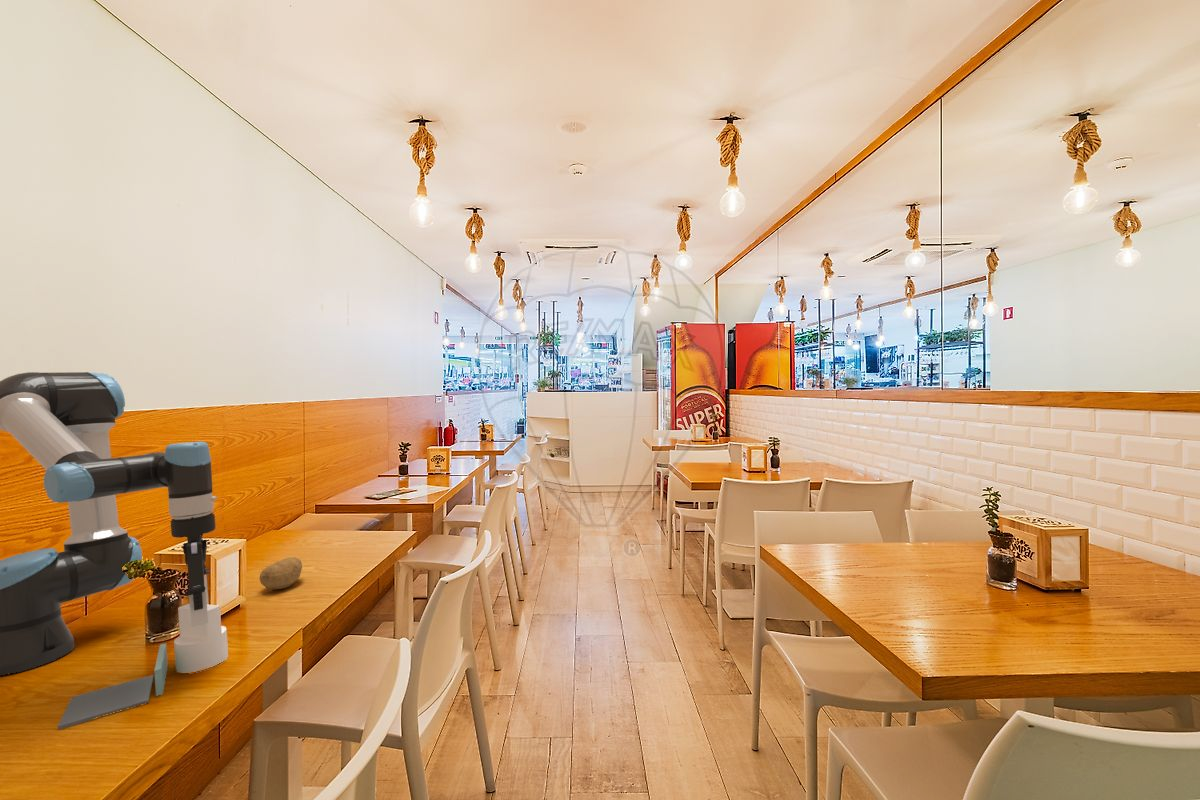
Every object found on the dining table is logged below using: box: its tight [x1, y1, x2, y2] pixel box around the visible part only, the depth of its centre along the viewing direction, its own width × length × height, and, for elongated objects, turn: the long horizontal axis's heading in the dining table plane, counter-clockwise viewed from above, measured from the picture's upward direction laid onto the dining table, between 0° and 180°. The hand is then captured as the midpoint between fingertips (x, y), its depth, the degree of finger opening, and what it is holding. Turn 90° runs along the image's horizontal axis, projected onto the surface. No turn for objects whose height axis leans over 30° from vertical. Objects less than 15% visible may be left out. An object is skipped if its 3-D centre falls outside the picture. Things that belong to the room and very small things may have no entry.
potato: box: [259, 557, 303, 590], centre depth 162 cm, size 10×14×8 cm
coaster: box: [57, 674, 155, 730], centre depth 102 cm, size 12×12×1 cm
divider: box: [153, 643, 169, 697], centre depth 109 cm, size 1×14×5 cm, turn 35°
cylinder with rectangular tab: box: [173, 602, 229, 674], centre depth 116 cm, size 9×9×12 cm
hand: (200, 614), depth 115 cm, fingers open, 13 cm apart
